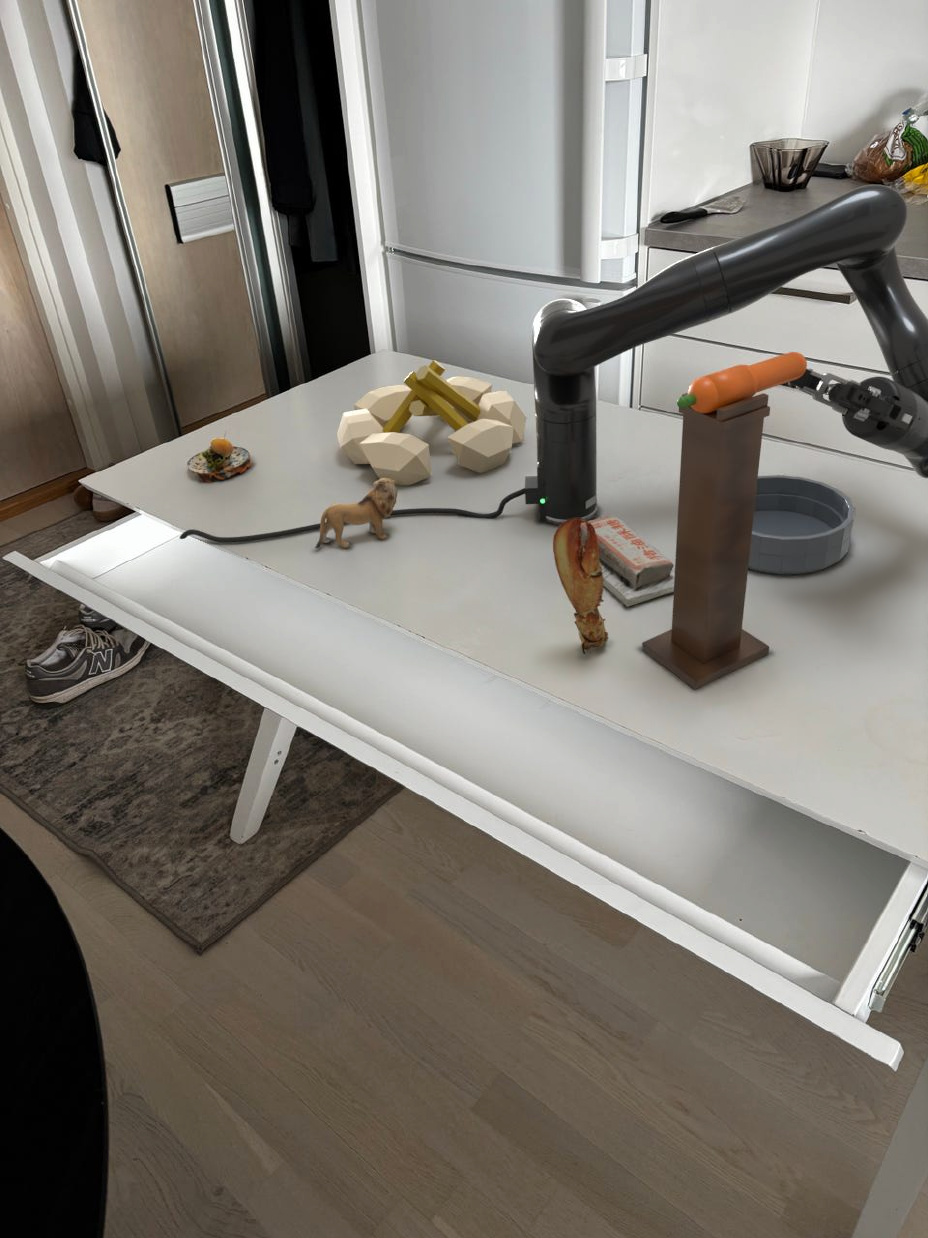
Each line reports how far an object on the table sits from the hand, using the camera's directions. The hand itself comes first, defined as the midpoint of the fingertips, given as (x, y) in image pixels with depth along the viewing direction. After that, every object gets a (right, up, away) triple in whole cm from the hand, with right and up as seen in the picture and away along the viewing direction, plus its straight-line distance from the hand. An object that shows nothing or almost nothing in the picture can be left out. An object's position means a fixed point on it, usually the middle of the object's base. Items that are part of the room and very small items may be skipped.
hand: (815, 380), depth 107 cm
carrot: (-10, -3, -5) cm, 12 cm away
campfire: (-46, +6, +72) cm, 85 cm away
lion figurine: (-56, -14, +45) cm, 73 cm away
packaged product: (-17, -20, +30) cm, 40 cm away
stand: (-9, -31, +13) cm, 35 cm away
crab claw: (-24, -31, +16) cm, 42 cm away
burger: (-86, +1, +71) cm, 112 cm away
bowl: (+7, -15, +33) cm, 38 cm away
